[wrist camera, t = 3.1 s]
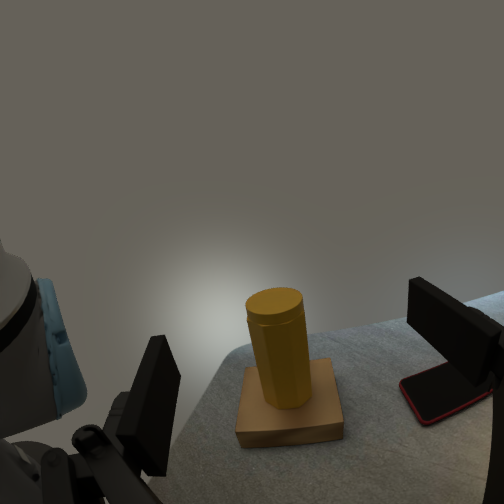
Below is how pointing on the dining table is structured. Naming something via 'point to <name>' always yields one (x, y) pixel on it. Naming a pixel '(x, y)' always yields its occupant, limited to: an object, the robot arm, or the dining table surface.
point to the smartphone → (441, 392)
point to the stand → (290, 412)
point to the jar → (280, 346)
